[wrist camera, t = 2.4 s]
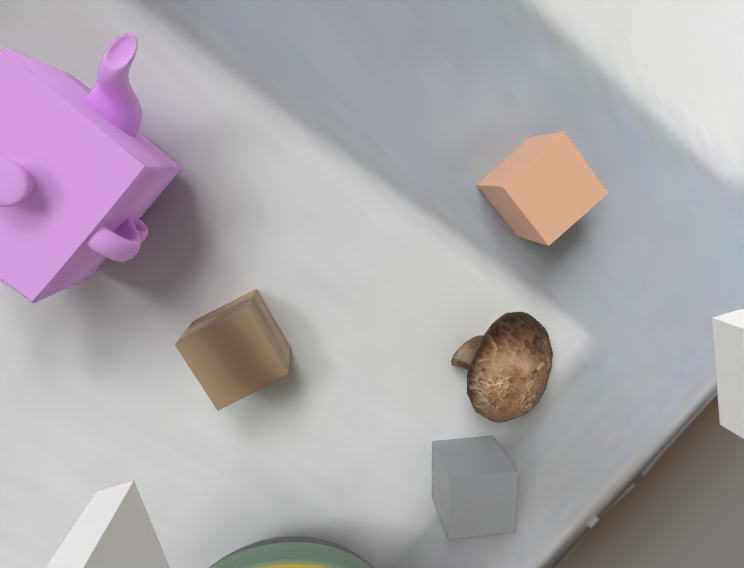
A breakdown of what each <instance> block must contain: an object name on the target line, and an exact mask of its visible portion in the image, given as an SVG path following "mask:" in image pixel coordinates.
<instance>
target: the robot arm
mask: <svg viewBox="0 0 744 568" xmlns="http://www.w3.org/2000/svg"><path fill="white" fill-rule="evenodd" d="M712 326H713V339H714V352H715V365H716V378H717V391H718V403H719V416H720V425H722V426H723V427H725V428H727V429H729V430H730V431H732V432H733V433H735V434H737V435H738V436H740V437H742V438H743V439H744V309H741V310H737V311H733V312H730V313H726V314H723V315H719V316H716V317H712ZM45 568H169V566H168V563H167V561H166V558H165V556H164V553H163V551H162V548H161V546H160V543H159V541H158V539H157V536H156V534H155V531H154V529H153V526H152V524H151V521H150V519H149V516H148V514H147V512H146V509H145V507H144V504H143V502H142V499H141V497H140V494H139V492H138V489H137V487H136V484H135V482H134V481H130V482H126V483H123V484H119V485H116V486H112V487H109V488H105V489H102V490H98V491H97V492H96V493H95V495H94V496H93V498H92V499H91V501H90V502H89V503H88V505H87V506H86V508H85V509H84V511H83V512H82V514H81V515H80V517H79V518H78V520H77V521H76V523H75V524H74V526H73V527H72V529H71V530H70V531H69V533H68V534H67V536H66V537H65V539H64V540H63V542H62V543H61V545H60V546H59V548H58V549H57V551H56V552H55V554H54V555H53V557H52V558H51V560H50V561H49V562H48V564H47V565H46V567H45Z"/></svg>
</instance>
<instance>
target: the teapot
mask: <svg viewBox="0 0 744 568" xmlns="http://www.w3.org/2000/svg"><path fill="white" fill-rule="evenodd" d="M136 50H137V39H136V38H135V36H134V35H132V34H128V33H127V34H123V35H122V36H120V37H118V38H117V39H116V40H115V41H114V42H113V43H112V44H111V45H110V46H109V48H108V49H107V50H106V52H105V54H104V56H103V58H102V61H101V64H100V67H99V71H98V80H97V82H96V84H95V86H94V87H93V89H92V90H90V89H88V88H87V87H86V86H85V85H84V84H82V83H81V82H80V81H79V80H78V79H76V78H75V77H74V76H72V75H70V74H67V73H65V72H63V71H60V70H58V69H55V68H53V67H51V66H48V65H46V64H43V63H41V62H39V61H36V60H34V59H31V58H29V57H27V56H24V55H22V54H20V53H17V52H15V51H12V50H10V49H8V48H5V47H3V49H2V50H1V51H0V280H2V281H3V282H4V283H6V284H7V285H9V286H10V287H12V288H13V289H14V290H16V291H17V292H19V293H20V294H22V295H23V296H24V297H26V298H27V299H29V300H30V301H31V302H33V303H35V302H37V301H39V300H42V299H44V298H46V297H48V296H50V295H52V294H54V293H56V292H59V291H61V290H63V289H65V288H67V287H69V286H71V285H73V284H76V283H78V282H80V281H82V280H84V279H86V278H88V277H90V276H92V275H93V274H94V273H95V271H96V270H97V269H98V268H99V267H100V265H101V264H102V263H103V262H104V261H105V260H106V258H109V259H111V260H114V261H119V262H125V261H128V260H130V259H132V258H133V257H134V256H135V255H136V254H137V253H138V251H139V249H140V247H141V242H142V241H144V240H145V239H146V238H147V236H148V232H149V231H148V228H147V226H146V225H145V224H144V223H143V222H142V221H141V220H140V218H141V217H142V216H143V214H144V213H145V212H146V211H147V210H148V209H149V207H150V206H151V205H152V204H153V203H154V201H155V200H156V199H157V198H158V197H159V195H160V194H161V193H162V192H163V191H164V189H165V188H166V187H167V186H168V185H169V183H170V182H171V181H172V180H173V179H174V177H175V176H176V175H177V174H178V173H179V171H180V170H181V169H182V167H181V166H180V165H179V164H178V163H176V162H175V161H174V160H173V159H172V158H171V157H169V156H168V155H167V154H166V153H165V152H163V151H162V150H161V149H160V148H159V147H157V146H156V145H155V144H154V143H153V142H151V141H150V140H149V139H148V138H147V137H145V136H144V135H143V134H142V133H141V132H140V131H138V129H139V126H140V122H141V108H140V104H139V101H138V99H137V97H136V95H135V93H134V91H133V89H132V87H131V86H130V83H129V79H128V73H129V68H130V66H131V63H132V61H133V59H134V57H135V54H136Z"/></svg>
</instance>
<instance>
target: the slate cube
mask: <svg viewBox="0 0 744 568" xmlns="http://www.w3.org/2000/svg"><path fill="white" fill-rule="evenodd" d="M517 485H518V471H517V469H516V468H515V466H514V465H513V463H512V462H511V461H510V459H509V458H508V456H507V455H506V454H505V452H504V451H503V449H502V448H501V447H500V445H499V444H498V442H497V441H496V439H495V438H494V437H493V436H485V437H474V438H463V439H452V440H442V441H432V498H433V500H434V503H435V505H436V508H437V511H438V513H439V516H440V518H441V521H442V524H443V526H444V529H445V531H446V534H447V536H448V539H449V540H454V539H462V538H471V537H479V536H488V535H496V534H505V533H513V532H515V530H516V508H517Z"/></svg>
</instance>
